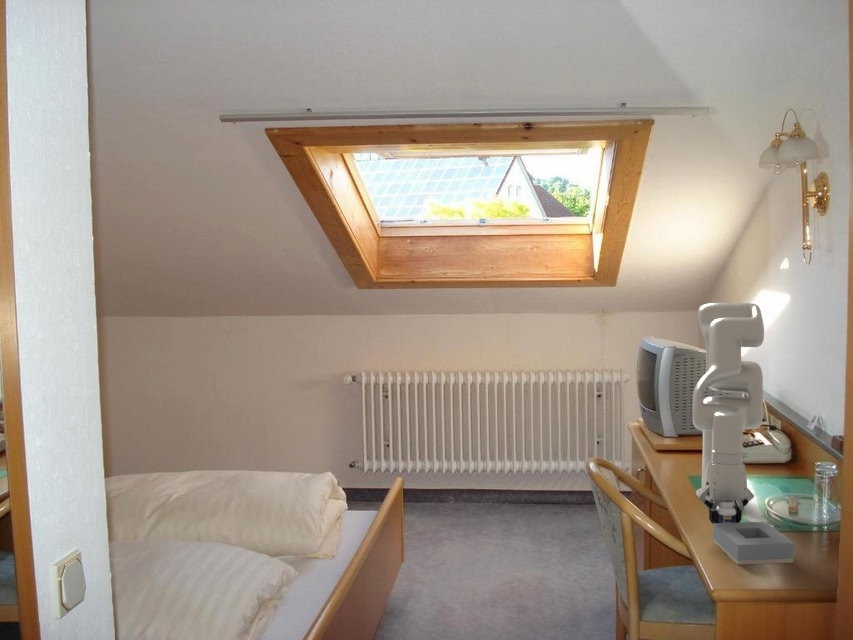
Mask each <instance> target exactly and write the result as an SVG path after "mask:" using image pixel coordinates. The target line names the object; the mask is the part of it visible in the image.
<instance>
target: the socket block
mask: <svg viewBox="0 0 853 640" xmlns="http://www.w3.org/2000/svg"><path fill="white" fill-rule="evenodd" d="M712 525H713V526H712V543H714V545H715V546H716V547H718V546H719V547H720V548H721V549H722V550H723V551H724V552H725V553H726V554H727V555H726V554H725V553H724V552H723V551H722V550H721V549H720V548H719V547H718V548H719V549H720V550H721V551H722V552H723V553H724V554H725V555H726V556H727V557H729V559H731V560H732V561H733V562H734V563H735V564H736V565H737V566H738V565H739V566H740V565H741V566H742V565H767V564H771V565H772V564H790V563H791V564H793V563H794V556H795V555H794V554H795V553H794V550H795V549H794V548H795V542H793V541H792V540H790V539H789V538H788V537H787V536H785V535H784V534H783V533H781V532H780V531H778V530H777V529H776V528H775V527H773V526H772V525H770V524H769V523H768V522H767V521H751V522H749V521H748V522H740V523H713V524H712Z"/></svg>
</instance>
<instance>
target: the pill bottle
mask: <svg viewBox="0 0 853 640" xmlns="http://www.w3.org/2000/svg"><path fill="white" fill-rule="evenodd" d="M734 506H735V504H734V501H733V500H725V501H719V503H718V505H717V508H716V510H717V511H718V523H736V510H735V509H734V508H733V507H734Z"/></svg>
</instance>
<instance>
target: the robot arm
mask: <svg viewBox="0 0 853 640" xmlns="http://www.w3.org/2000/svg"><path fill="white" fill-rule="evenodd" d="M697 320H698V324H699V329H700V331H701V332H700V333H701V334H702V337H703V339H704V343H705V373H704V374H703V375H702V376H701V377H700V378H699V380H698V381H697V382H696V385H695V387H694V389H693V392H692V410H691V411H692V415H691V416H692V424H693V426H694V427H695V428H696V430H699V431H702V457H701V459H702V462H701V463H702V464H701V487H700V488H698V489H696V490H695V491H696V492H695V493H696V494H695V495H696V497H697V498H698V499H699V500H700V501H701V502H702V503H703V504H704V505H705V506H706V507H707V508H708V509H709V510H708V520H709V522H710V523H711V524H712V525H713V523H718V511H717V510H716V508H717V506H719V505H718V503H719V501H725V500H733V501H734V506H733V508H734V509H735V510H736V523H741V521H742V517H743V515H742V514H743V513H742V511H743V510H744V509H745V507H746V505H748V503H749V502H751V501H752V500H753V499H754V498H755V495H754V493H753V492H752V491H751V490H750V488H748V479H747V472H746V471H747V470H746V467H745V466H746V465H745V463H744V462H743V461H744V459H747V457H748V454H747V452H743V442H744V441H743V440H744V439H743V438H744V431H745V430H756V429H759V428H760V427H761V426H762V425H763V419H764V378H763V376H764V375H763V370H762V367H761V365H760V364H759V363H758V362H754V361H749V360H742V348H758V347H761V346H762V345H763V343H764V340H765V339H764V338H765V326H764V320H763V316H762V312H761V309H760V307H759V305H757V304H756V303H750V302H749V303H748V302H711V303H709V302H708V303H705V304H702V305H700V306H699V307H698V311H697ZM707 389H710V390H711V391H716V392H724V393H725V392H726V393H727V392H728V393H744V394H745V396H731V395H730V396H729V395H726V396H725V395H711V396H707V397H705V398H704V395H705V392H706V390H707Z"/></svg>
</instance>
